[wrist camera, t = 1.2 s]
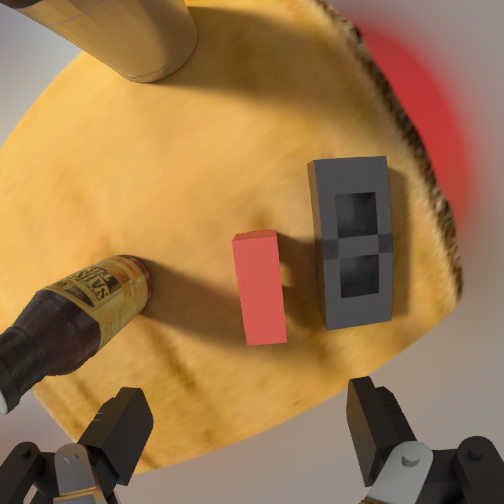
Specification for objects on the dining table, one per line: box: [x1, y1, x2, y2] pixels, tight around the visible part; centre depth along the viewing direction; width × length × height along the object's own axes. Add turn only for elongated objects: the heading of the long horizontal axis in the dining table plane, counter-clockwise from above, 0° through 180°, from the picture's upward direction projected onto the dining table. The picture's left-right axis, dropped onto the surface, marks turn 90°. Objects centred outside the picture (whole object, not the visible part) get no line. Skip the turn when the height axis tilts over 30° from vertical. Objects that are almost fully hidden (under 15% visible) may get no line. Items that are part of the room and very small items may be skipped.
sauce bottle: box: [0, 255, 153, 415], centre depth 19 cm, size 6×6×20 cm
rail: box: [307, 156, 393, 330], centre depth 25 cm, size 14×6×4 cm, turn 7°
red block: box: [232, 230, 287, 346], centre depth 24 cm, size 8×3×7 cm, turn 7°
